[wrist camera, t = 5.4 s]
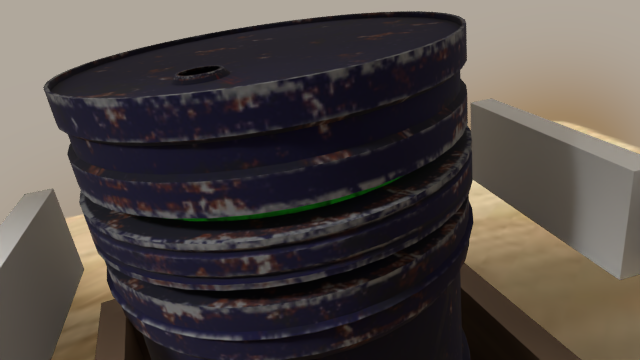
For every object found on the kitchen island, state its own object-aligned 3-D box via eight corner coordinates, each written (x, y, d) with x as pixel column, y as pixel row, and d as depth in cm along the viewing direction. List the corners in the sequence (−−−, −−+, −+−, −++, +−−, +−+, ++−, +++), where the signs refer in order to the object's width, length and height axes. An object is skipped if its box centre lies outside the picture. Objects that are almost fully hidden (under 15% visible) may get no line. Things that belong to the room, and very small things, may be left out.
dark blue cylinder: (265, 349, 24) (193, 30, 18) (479, 377, 20) (478, -1, 15) (137, 578, 15) (-83, 112, 9) (469, 689, 12) (455, 82, 6)
